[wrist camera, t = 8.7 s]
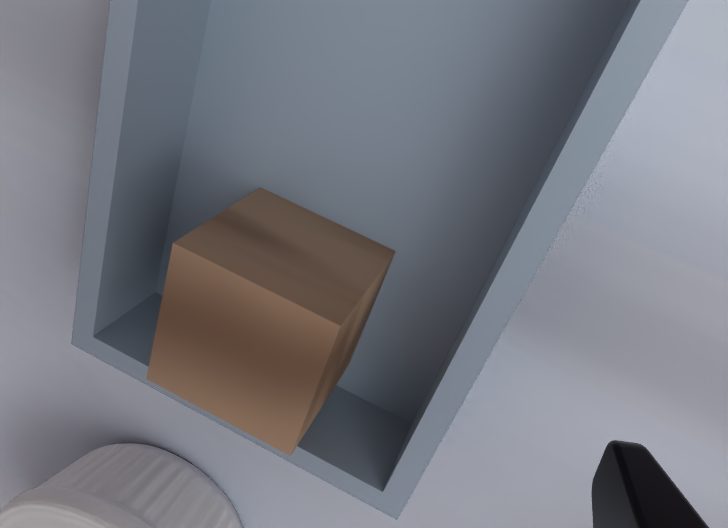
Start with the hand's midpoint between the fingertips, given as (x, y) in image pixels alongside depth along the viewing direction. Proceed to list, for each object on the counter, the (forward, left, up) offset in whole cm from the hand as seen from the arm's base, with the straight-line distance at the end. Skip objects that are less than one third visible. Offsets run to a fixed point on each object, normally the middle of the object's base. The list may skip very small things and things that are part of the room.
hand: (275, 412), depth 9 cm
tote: (0, +3, -12) cm, 13 cm away
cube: (-5, +3, -12) cm, 13 cm away
